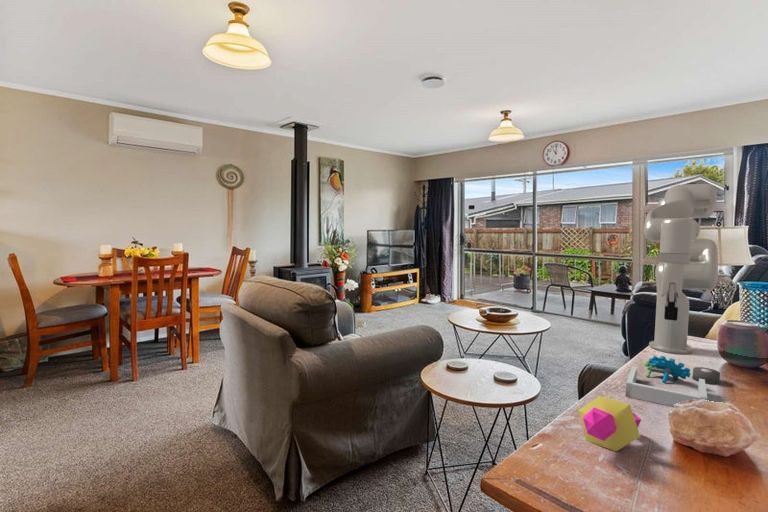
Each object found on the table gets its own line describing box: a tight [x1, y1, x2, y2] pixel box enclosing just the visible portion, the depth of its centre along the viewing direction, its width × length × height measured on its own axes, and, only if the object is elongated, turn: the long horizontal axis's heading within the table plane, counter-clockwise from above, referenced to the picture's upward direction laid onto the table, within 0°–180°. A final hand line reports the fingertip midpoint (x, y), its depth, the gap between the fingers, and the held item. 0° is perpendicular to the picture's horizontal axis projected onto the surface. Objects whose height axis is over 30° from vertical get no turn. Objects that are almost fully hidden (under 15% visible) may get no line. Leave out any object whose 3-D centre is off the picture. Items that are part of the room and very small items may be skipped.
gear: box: [644, 355, 691, 384], centre depth 115 cm, size 11×6×10 cm
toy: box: [577, 395, 642, 452], centre depth 81 cm, size 10×18×10 cm, turn 134°
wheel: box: [692, 366, 721, 386], centre depth 115 cm, size 6×6×3 cm
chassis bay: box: [625, 366, 708, 407], centre depth 105 cm, size 15×16×4 cm
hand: (670, 319), depth 122 cm, fingers closed
